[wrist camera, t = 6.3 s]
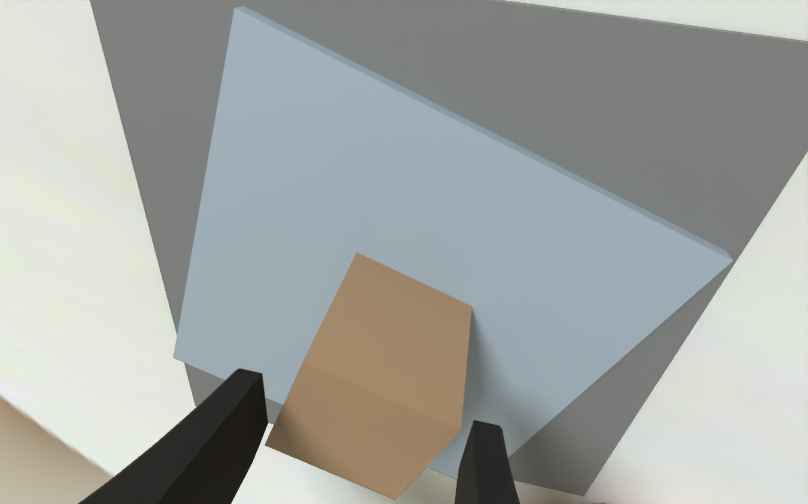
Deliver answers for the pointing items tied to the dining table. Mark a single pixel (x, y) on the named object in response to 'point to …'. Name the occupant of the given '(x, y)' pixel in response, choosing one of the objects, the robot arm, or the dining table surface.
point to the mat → (509, 118)
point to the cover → (406, 266)
